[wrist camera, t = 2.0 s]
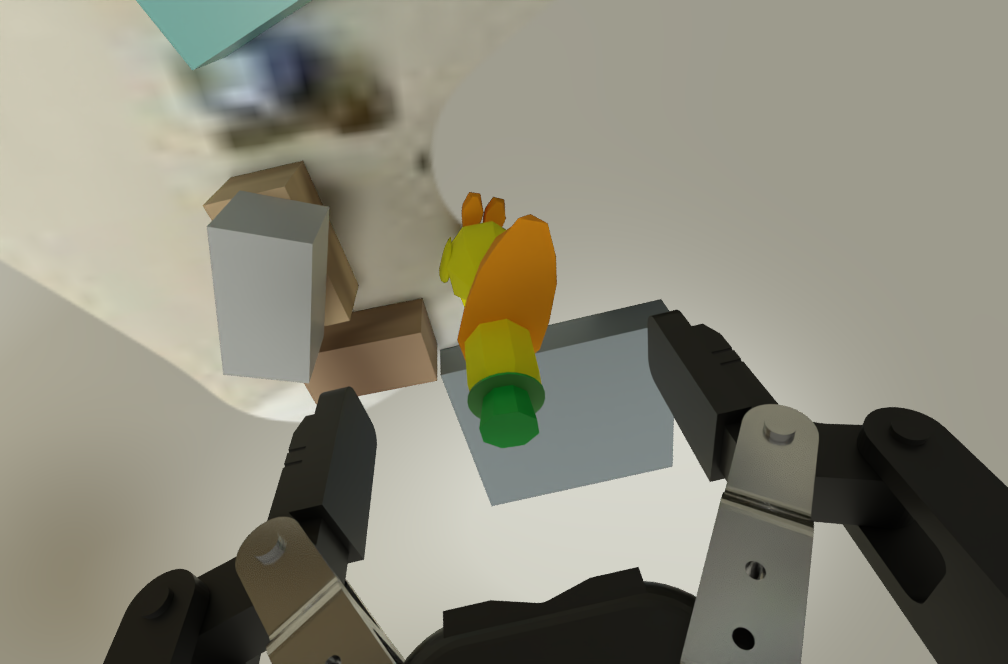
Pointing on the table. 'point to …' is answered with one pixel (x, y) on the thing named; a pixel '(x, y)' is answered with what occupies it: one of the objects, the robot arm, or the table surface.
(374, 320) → the walnut brick
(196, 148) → the table surface
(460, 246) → the toy figure
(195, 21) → the teal brick
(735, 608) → the robot arm
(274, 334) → the grey brick
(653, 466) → the slate stand
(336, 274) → the oak brick
